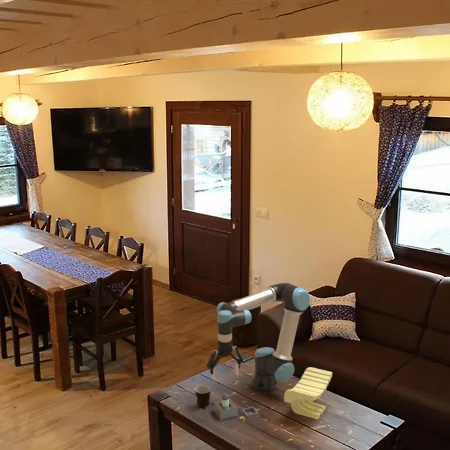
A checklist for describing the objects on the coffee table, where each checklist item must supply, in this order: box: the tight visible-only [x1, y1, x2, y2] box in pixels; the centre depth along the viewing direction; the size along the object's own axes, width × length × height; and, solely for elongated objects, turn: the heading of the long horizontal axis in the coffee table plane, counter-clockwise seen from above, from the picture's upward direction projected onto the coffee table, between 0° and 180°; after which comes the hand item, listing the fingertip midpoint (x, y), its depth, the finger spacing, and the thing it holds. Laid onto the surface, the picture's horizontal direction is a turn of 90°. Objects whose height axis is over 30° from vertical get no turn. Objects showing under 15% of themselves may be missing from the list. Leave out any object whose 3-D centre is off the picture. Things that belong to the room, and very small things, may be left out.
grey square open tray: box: [240, 406, 261, 420], centre depth 306 cm, size 8×8×3 cm
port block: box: [212, 398, 239, 421], centre depth 307 cm, size 10×10×6 cm
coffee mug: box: [194, 385, 211, 410], centre depth 317 cm, size 12×9×10 cm
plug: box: [221, 392, 230, 408], centre depth 306 cm, size 4×4×12 cm
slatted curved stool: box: [283, 366, 333, 420], centre depth 310 cm, size 30×16×18 cm, turn 150°
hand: (225, 376), depth 303 cm, fingers open, 13 cm apart
